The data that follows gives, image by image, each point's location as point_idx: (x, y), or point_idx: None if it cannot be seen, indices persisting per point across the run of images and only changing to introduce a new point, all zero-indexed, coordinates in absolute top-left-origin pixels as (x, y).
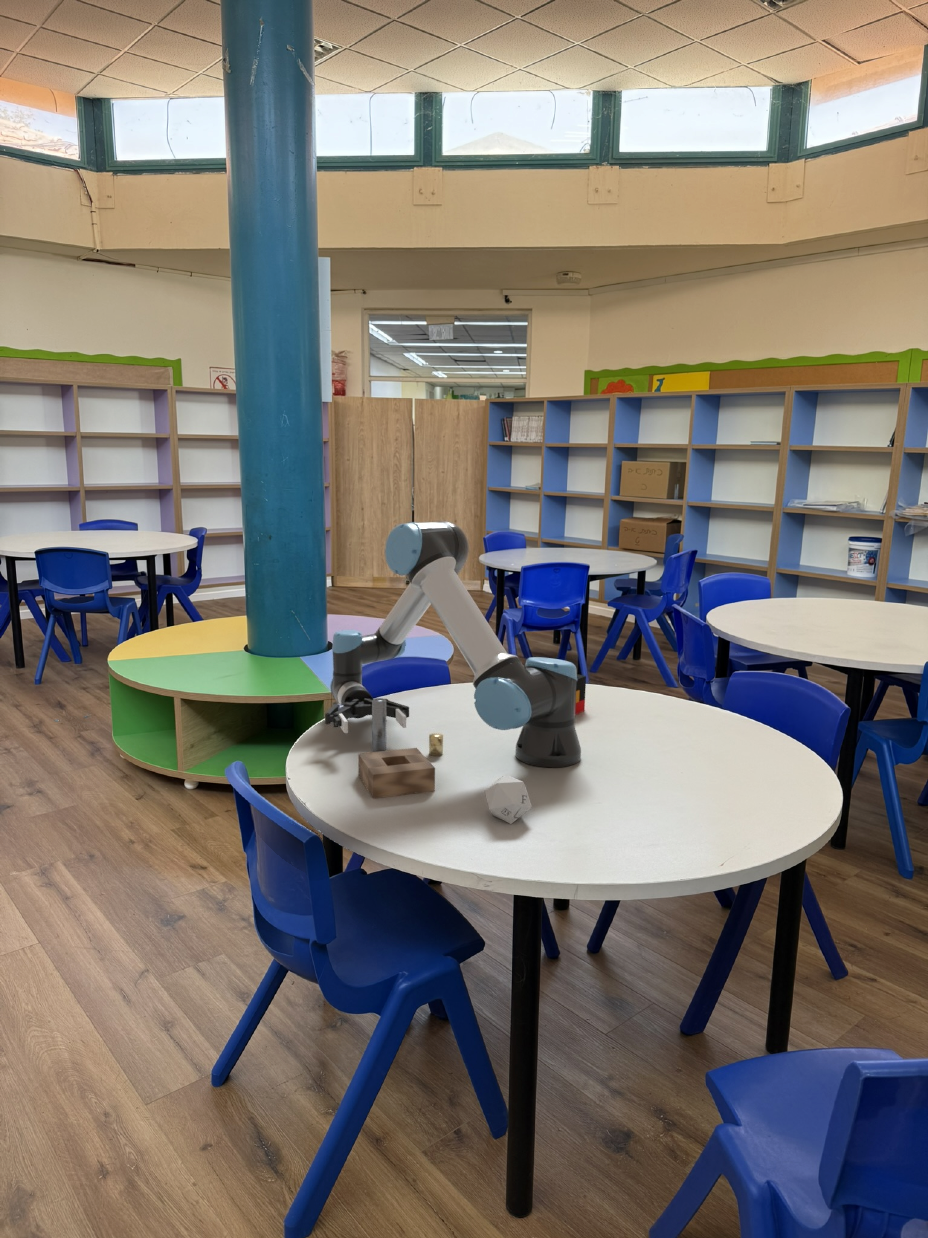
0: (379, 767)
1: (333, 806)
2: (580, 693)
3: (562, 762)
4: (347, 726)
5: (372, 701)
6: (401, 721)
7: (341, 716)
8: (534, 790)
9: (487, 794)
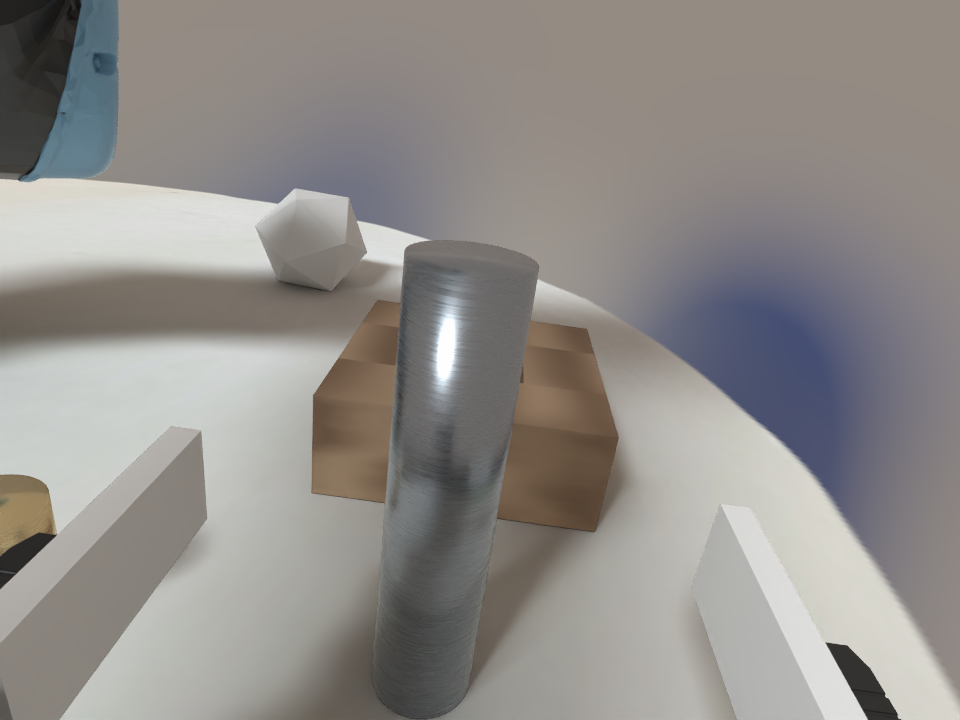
0: (553, 346)
1: (692, 408)
2: None
3: None
4: (710, 540)
5: (537, 269)
6: (177, 515)
7: (820, 647)
8: (122, 303)
9: (351, 239)
